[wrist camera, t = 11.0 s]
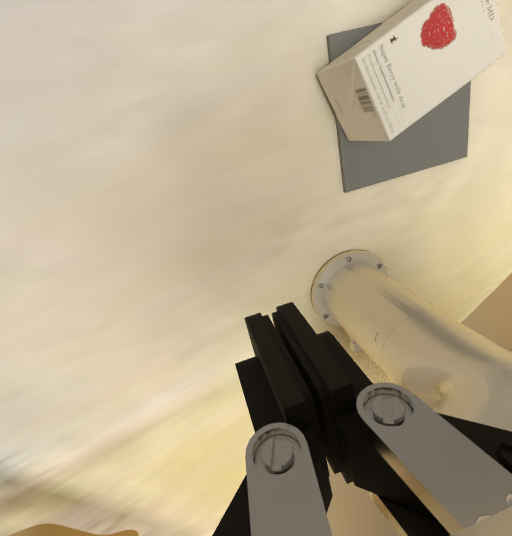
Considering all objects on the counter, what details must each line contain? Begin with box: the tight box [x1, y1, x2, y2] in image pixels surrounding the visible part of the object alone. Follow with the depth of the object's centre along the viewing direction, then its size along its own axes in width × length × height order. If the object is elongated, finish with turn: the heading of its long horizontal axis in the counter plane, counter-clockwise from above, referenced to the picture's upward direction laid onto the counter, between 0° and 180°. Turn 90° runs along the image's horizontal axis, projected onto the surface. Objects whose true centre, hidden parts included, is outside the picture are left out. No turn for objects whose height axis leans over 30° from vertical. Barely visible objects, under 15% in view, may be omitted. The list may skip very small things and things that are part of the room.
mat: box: [327, 23, 471, 192], centre depth 42 cm, size 18×19×1 cm
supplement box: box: [317, 0, 507, 141], centre depth 35 cm, size 9×9×15 cm
